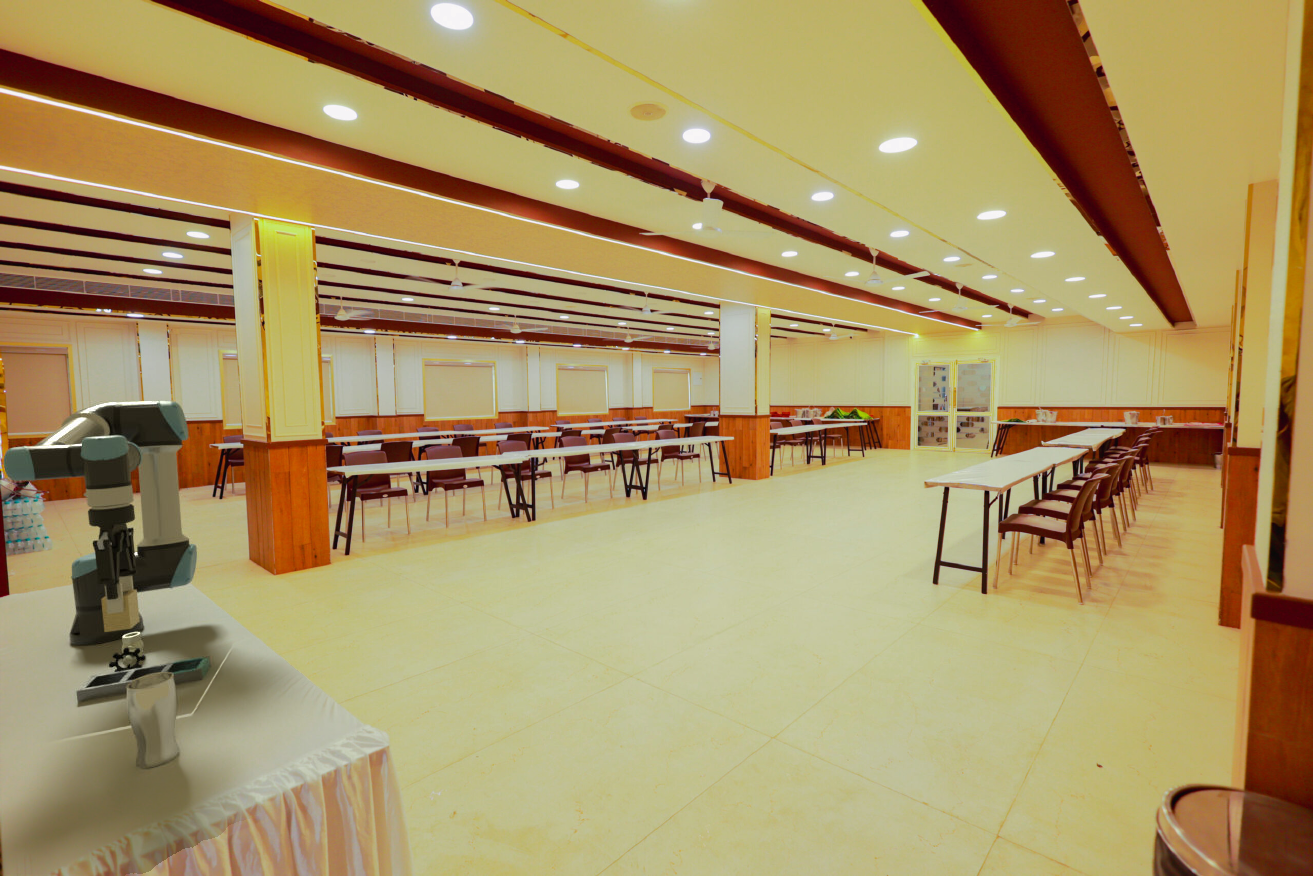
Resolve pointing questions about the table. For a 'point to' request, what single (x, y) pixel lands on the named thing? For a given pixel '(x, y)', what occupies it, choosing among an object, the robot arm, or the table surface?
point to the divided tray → (119, 680)
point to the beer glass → (153, 718)
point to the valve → (129, 652)
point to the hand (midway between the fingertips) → (121, 608)
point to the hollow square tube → (122, 613)
